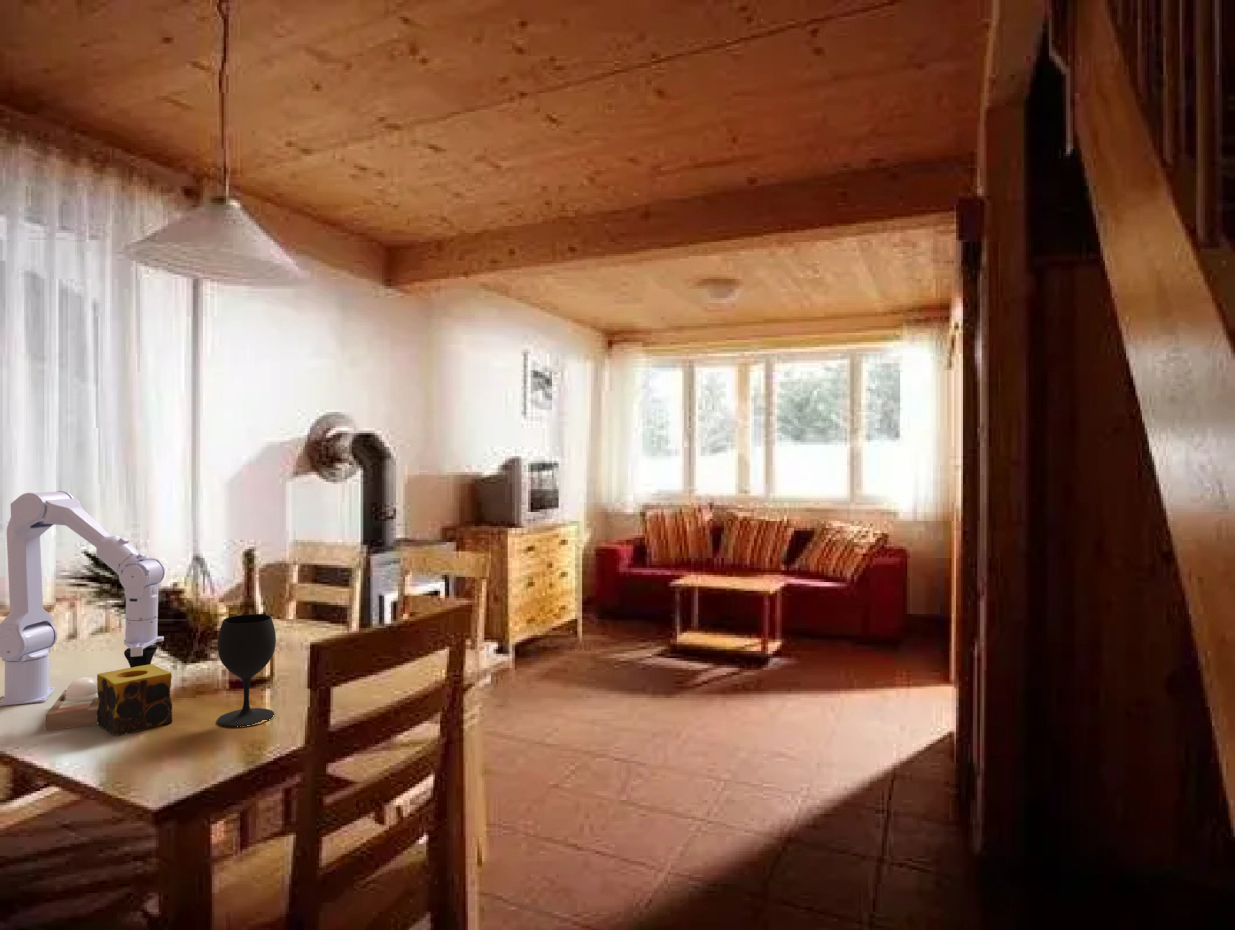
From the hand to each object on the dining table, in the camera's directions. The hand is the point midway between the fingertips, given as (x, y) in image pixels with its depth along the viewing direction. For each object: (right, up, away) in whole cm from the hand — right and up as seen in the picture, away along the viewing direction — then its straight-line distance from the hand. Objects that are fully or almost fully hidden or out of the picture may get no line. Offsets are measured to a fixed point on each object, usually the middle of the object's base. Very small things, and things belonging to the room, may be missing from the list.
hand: (140, 682), depth 158 cm
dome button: (-9, -4, -4) cm, 11 cm away
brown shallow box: (-7, -4, -7) cm, 11 cm away
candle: (+6, -5, -12) cm, 14 cm away
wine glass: (+26, -5, -8) cm, 28 cm away
